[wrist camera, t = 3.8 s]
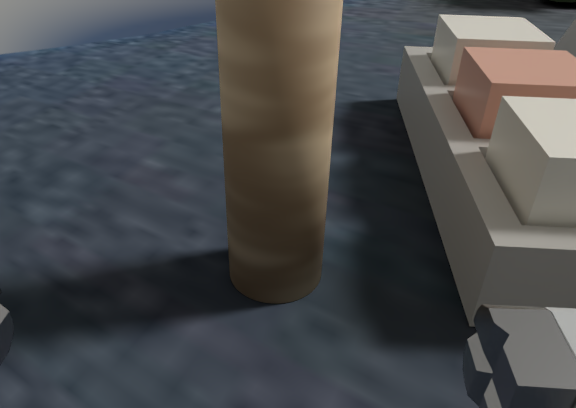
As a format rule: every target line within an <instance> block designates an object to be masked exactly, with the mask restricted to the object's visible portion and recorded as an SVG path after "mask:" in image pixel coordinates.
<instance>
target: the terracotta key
mask: <svg viewBox="0 0 576 408" xmlns="http://www.w3.org/2000/svg"><path fill="white" fill-rule="evenodd" d="M502 96H519V97H543V98H566V99H576V57H574V56H573V55H572V54H570V53H569V52H568V51H563V50H538V49H513V48H487V47H464V49H463V53H462V58H461V63H460V67H459V72H458V76H457V81H456V86H455V90H454V95H453V102H454V104H455V106H456V107H457V109H458V111H459V113H460V115H461V116H462V118H463V120H464V122H465V124H466V125H467V127H468V129H469V131H470V133H471V134H472V136H473V138H479V139H491V135H492V131H493V128H494V124H495V120H496V116H497V113H498V109H499V105H500V102H501V98H502Z"/></svg>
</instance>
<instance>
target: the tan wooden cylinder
mask: <svg viewBox="0 0 576 408" xmlns="http://www.w3.org/2000/svg"><path fill="white" fill-rule="evenodd" d="M215 2H216V21H217V40H218V59H219V78H220V97H221V117H222V136H223V155H224V174H225V193H226V212H227V231H228V250H229V269H230V278H231V281H232V283H233V285H234V286H235V288H236V289H237V290H238V291H239V292H241V293H242V294H243V295H245V296H247V297H248V298H251V299H253V300H256V301H259V302H264V303H287V302H292V301H295V300H298V299H301V298H303V297H305V296H307V295H308V294H309V293H311V292H312V291H313V290H314V289H315V288H316V287H317V285H318V283H319V281H320V278H321V270H322V257H323V245H324V232H325V220H326V207H327V195H328V182H329V170H330V157H331V145H332V132H333V120H334V107H335V94H336V82H337V69H338V57H339V44H340V32H341V19H342V7H343V0H215Z"/></svg>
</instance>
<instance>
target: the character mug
mask: <svg viewBox="0 0 576 408" xmlns="http://www.w3.org/2000/svg"><path fill="white" fill-rule="evenodd" d="M551 1H556V2H573V5H574V6H576V0H551Z"/></svg>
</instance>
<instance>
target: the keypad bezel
mask: <svg viewBox="0 0 576 408" xmlns="http://www.w3.org/2000/svg"><path fill="white" fill-rule="evenodd" d="M432 50H433V47H412V46H404V52H403V59H402V65H401V72H400V78H399V85H398V92H397V98H396V99H397V102H398V105H399V108H400V111H401V114H402V117H403V120H404V124H405V127H406V130H407V133H408V136H409V139H410V142H411V145H412V149H413V152H414V155H415V158H416V161H417V164H418V167H419V170H420V173H421V177H422V180H423V183H424V186H425V189H426V192H427V195H428V198H429V202H430V205H431V208H432V211H433V214H434V217H435V220H436V223H437V226H438V230H439V233H440V236H441V239H442V242H443V245H444V248H445V251H446V255H447V258H448V261H449V264H450V267H451V270H452V273H453V276H454V279H455V283H456V286H457V289H458V292H459V295H460V298H461V301H462V304H463V308H464V311H465V314H466V317H467V320H468V323H469V326H472V327H475V324H474V321H473V320H474V317H475V314H476V312H477V309H478V308H479V307H480V306H481V305H482V304H490V305H510V306H530V307H542V308H544V307H554V308H575V309H576V228H569V227H549V226H529V225H521V223H520V221H519V219H518V218H517V216H516V214H515V212H514V210H513V209H512V207H511V205H510V203H509V201H508V200H507V198H506V196H505V194H504V192H503V190H502V189H501V187H500V185H499V183H498V181H497V180H496V178H495V176H494V174H493V172H492V171H491V169H490V167H489V165H488V163H487V162H486V160H485V157H486V153H487V150H488V146H489V142H490V139H479V138H473V136H472V134H471V133H470V131H469V129H468V127H467V125H466V124H465V122H464V120H463V118H462V116H461V115H460V113H459V111H458V109H457V107H456V106H455V104H454V102H453V95H454V90H455V86H456V85H444V84H443V82H442V80H441V78H440V77H439V75H438V73H437V71H436V69H435V68H434V66H433V64H432V62H431V56H432Z"/></svg>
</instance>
